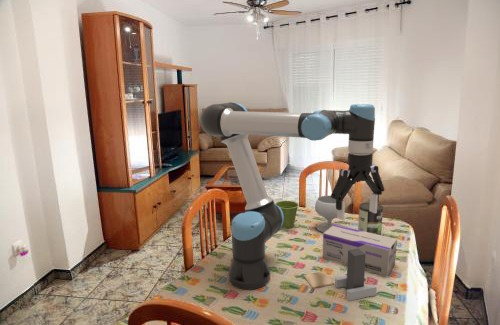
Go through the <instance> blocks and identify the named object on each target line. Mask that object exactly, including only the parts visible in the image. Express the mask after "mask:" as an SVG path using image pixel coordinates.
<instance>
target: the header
mask: <svg viewBox="0 0 500 325" xmlns="http://www.w3.org/2000/svg"><path fill="white" fill-rule="evenodd" d="M334 286H335V287H336V288H337V289H338V288H342V287H343V288H344V287H346V286H347V275H342V276H337V277H335V278H334ZM369 296H370V297H374V296H377V286H376V285H375V284H370V285H364V287H359V288H354V289H349V290H348V289H346V296H345V299H347V301H348V302H350V301H355V300H360V298H361V299H365V297H366V298H369Z"/></svg>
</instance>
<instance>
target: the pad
mask: <svg viewBox="0 0 500 325" xmlns="http://www.w3.org/2000/svg"><path fill="white" fill-rule="evenodd" d="M302 277H304V279H305V280H306V281H307V283H308V284H309V285H310V287H311V288H312V289H317V288H323V287H329V286H335V281H333V280H332V279H331V277H329V276H328V274H327V273H325V272H324V271H318V272H312V273H311V272H310V273H306V274H303V276H302Z"/></svg>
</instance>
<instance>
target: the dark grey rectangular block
mask: <svg viewBox="0 0 500 325" xmlns="http://www.w3.org/2000/svg"><path fill="white" fill-rule="evenodd" d="M365 257H366V254H365V253H364V252H362V251H361V250H360V249H353V250H348V262H347V266H346V276H347V286H345V287H346V290H349V289H354V288H359V287H364V286H365V273H366V270H365Z"/></svg>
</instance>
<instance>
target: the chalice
mask: <svg viewBox="0 0 500 325" xmlns="http://www.w3.org/2000/svg"><path fill="white" fill-rule="evenodd" d="M314 209H315V212H316V213H317V215H319V216H321V217H323V218H325V220H326V221H327V222H322V223H319V224H318V225H317V226H316V230H318V231H319V232H322V233H324V232H325V231H327V230H328V229H329V228H330V227H332V226H333V225H334V224H335V225H338V224H337V223H333V222H332V221H333V220H335V219H336V218H337V209H336V200H335V199H333V198H331V195H322V196H319V197H318V198H317V199H316V202H315V204H314ZM337 219H338V218H337Z"/></svg>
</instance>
